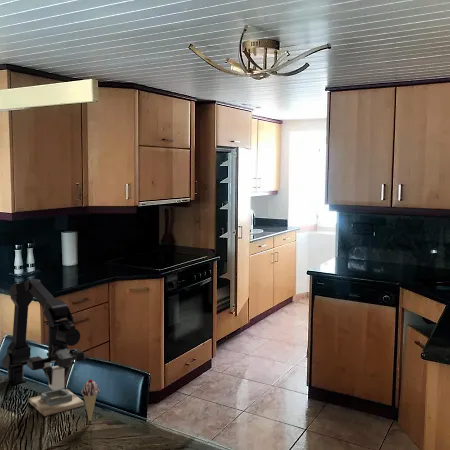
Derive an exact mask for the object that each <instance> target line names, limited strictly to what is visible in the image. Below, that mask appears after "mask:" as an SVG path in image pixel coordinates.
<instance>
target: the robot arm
mask: <svg viewBox="0 0 450 450" xmlns="http://www.w3.org/2000/svg"><path fill="white" fill-rule="evenodd" d="M9 294H10V300H11V301H12V302H13V304H14V308H13V309H14V311H13V324H12V325H13V326H12V339H11V342H10V343H9V345H8V347H6V354H5V355H4V357H3V359H2V360H1V365H2V368H4V369H7V377H6V378H4V381H5V382H6V383H7V384H8V385H9V386H10V385H11V386H12V385H17V384H20V383H25V382H27V379H26V378H25V377H24V366H26V367H28V368H29V369H31V370H32V371H37V370H42V371H43V372H44V375H45V377H46V379H47V382H48V385H49V384H50V385H51V384H52V376H51V370H52V367H53V366H51V364H52V363H56V366H59V367H63V368H64V380H65V379H66V376H67V374H68V371H69V369H70V367H72V366H73V365H75V364H76V362H81V361H84V360H86V355H85V352H83V351H82V350H80V349H78V348H72V349H69V348H68V346H70V347H72V346H73V347H74V346H76V345H77V344H78V343H79V342H80V339H81V332H80V331H79V330H78V329H77V328H76V325H75V321H74V317H73V315H72V312H71V309H70V306H68V304H67V303H65V301H64V300H61V299H58V298H56V297H54V296H53V294H52V293H50V291H49V290H48V289H47V288H46V287H45V286H44V285H43V284H42V281H41V280H40V279H38V278H35V279H27V280H25V281H23V282H18V283H13V284H12V285H11V286H10V288H9ZM34 298H35V300H36V301H37V302H38V304H39V305H40V306H41V307H42V308H43V313H42V314H43V316H44V317H45V319H46V322H45V326H47V327H48V334H47V336H48V338H47V339H48V341H46V345H47V352H46V358H42V357H41V356H33V357H32V356H31V354H32V353H31V346H30V345H29V344H28V343H27V332H28V331H27V330H28V319H29V318H28V315H29V306H30V305H31V303H32V301H33V300H34ZM74 361H76V362H74Z"/></svg>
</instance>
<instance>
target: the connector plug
mask: <svg viewBox="0 0 450 450" xmlns="http://www.w3.org/2000/svg"><path fill="white" fill-rule="evenodd" d="M51 367H52V370H51V376H52V384H51V385H50V384H49V383H48V388H49V389H51V391H53V390H57V389H61V388H63V389H65V379H64V368H63V367H59V366H58V365H53V366H51Z"/></svg>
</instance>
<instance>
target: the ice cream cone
mask: <svg viewBox="0 0 450 450" xmlns="http://www.w3.org/2000/svg"><path fill="white" fill-rule="evenodd" d="M80 392H81V393H80V394H81V395H82V396H83V401H84V406H85V409H86V413H87V414H86V415H87V419H88V424H89V425H91V422H92V417H93V414H94V409H95V404H96V399H97V396H98V394H99V393H100V388H99V387H98V384H97V382H96V381H94V380H92V379H89V380H88V381H85V383H84V384H83V386H82V389H81V390H80Z"/></svg>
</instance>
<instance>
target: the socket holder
mask: <svg viewBox="0 0 450 450" xmlns="http://www.w3.org/2000/svg"><path fill="white" fill-rule="evenodd" d="M28 403H30V405H31V406H32V407H33V408H35V409H36V410H37V411H38V412H39V413H40V414H41V415H42V416H43V417H46V416H50V415H53V414H54V415H55V414H57V413H62V412H64V411H68V410H73V409H77V408H79V407H83V406H85V400H84V399H83V400H82V399H81V398H80V396H79V397H78V396H77V395H76V394H75V393H73V392H72V391H71V390H69V389H67V388H66V389H65V388H61V389H57V390H49V391H46V392H41V393H40V395H37V396H33V397H29V398H28Z"/></svg>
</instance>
